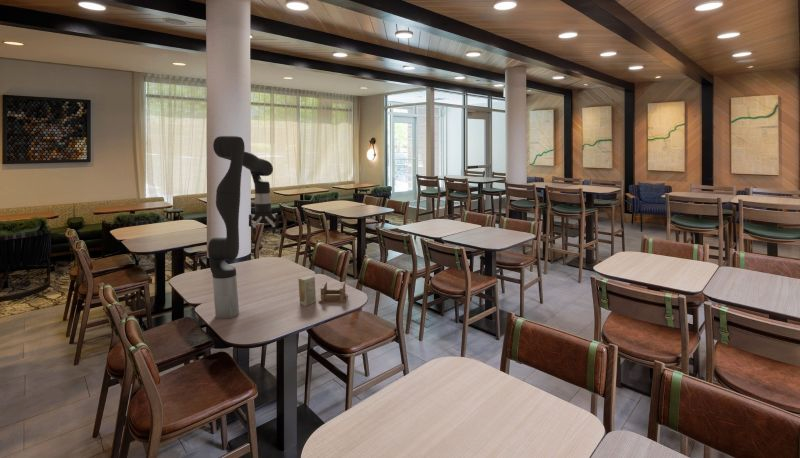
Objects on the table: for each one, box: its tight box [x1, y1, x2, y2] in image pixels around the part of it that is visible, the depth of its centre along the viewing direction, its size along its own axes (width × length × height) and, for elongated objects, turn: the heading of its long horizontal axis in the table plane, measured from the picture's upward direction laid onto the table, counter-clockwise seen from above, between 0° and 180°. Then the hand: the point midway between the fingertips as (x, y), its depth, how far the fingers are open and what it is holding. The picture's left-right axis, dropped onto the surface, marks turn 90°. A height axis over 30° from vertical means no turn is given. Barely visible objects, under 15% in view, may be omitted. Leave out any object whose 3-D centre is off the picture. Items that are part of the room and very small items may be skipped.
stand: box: [318, 281, 349, 304], centre depth 201 cm, size 10×12×7 cm
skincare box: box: [298, 274, 317, 307], centre depth 195 cm, size 6×4×12 cm
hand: (264, 234), depth 216 cm, fingers open, 8 cm apart
